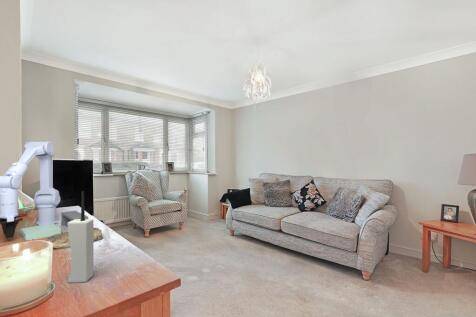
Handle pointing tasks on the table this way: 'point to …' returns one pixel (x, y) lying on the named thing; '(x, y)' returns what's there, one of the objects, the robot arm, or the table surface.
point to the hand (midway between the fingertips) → (8, 235)
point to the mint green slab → (40, 231)
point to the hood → (70, 217)
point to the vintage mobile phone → (81, 248)
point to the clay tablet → (63, 238)
